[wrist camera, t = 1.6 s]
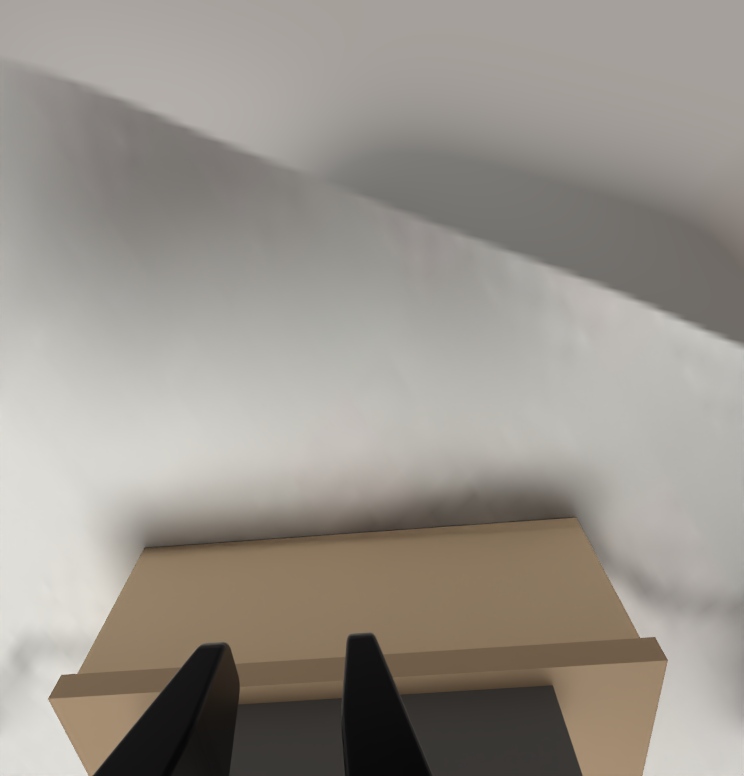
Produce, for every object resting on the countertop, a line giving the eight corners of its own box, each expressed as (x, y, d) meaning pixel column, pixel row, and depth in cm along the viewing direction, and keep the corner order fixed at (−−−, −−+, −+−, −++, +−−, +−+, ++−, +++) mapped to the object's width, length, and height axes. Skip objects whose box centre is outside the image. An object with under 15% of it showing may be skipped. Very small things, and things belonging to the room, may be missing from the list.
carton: (576, 517, 22) (642, 643, 17) (553, 753, 29) (594, 896, 24) (144, 548, 23) (74, 679, 17) (222, 772, 30) (189, 916, 24)
